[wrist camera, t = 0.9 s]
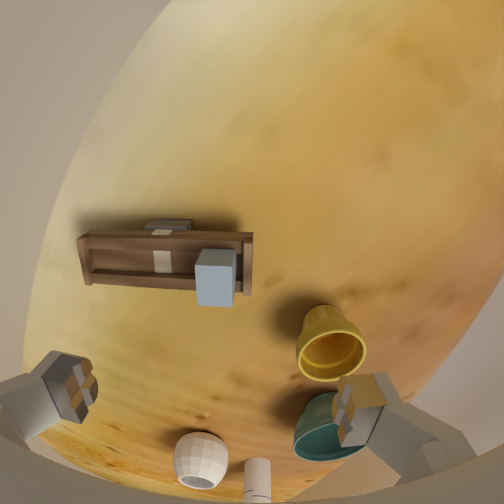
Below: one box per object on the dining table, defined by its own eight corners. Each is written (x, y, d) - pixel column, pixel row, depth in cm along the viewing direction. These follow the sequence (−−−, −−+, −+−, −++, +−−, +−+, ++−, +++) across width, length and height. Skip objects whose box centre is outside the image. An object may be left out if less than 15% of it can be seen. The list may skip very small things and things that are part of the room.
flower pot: (342, 427, 61) (349, 462, 51) (279, 421, 59) (281, 460, 49) (375, 384, 55) (389, 421, 45) (306, 375, 54) (313, 418, 44)
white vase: (170, 438, 64) (160, 479, 52) (192, 419, 60) (182, 466, 48) (213, 456, 67) (208, 496, 54) (240, 438, 63) (237, 483, 50)
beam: (103, 219, 43) (75, 235, 35) (253, 220, 43) (252, 239, 35) (109, 265, 46) (85, 288, 38) (252, 271, 46) (250, 299, 38)
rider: (205, 244, 38) (194, 265, 31) (236, 245, 38) (232, 266, 31) (206, 279, 39) (197, 305, 33) (236, 280, 39) (232, 307, 33)
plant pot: (298, 350, 51) (304, 389, 42) (285, 303, 48) (290, 340, 39) (353, 335, 50) (368, 372, 41) (347, 287, 46) (364, 321, 37)
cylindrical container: (271, 467, 69) (272, 540, 45) (247, 468, 69) (243, 540, 46) (269, 456, 66) (269, 535, 43) (242, 458, 67) (238, 536, 43)
